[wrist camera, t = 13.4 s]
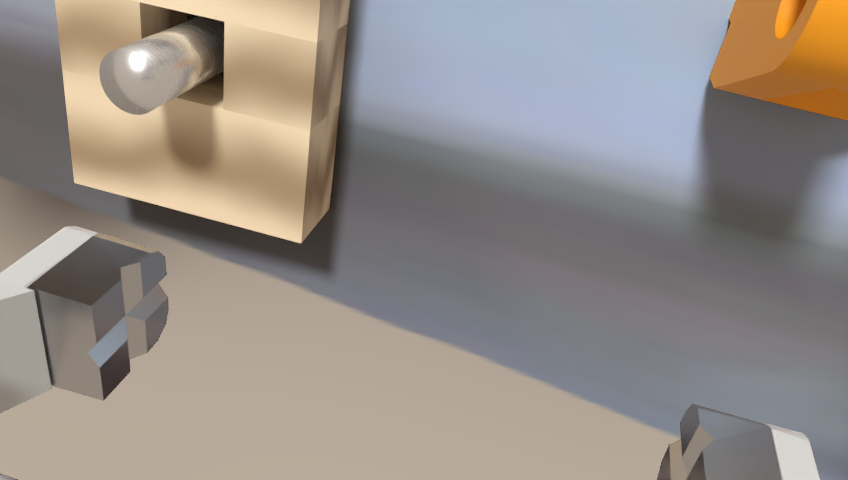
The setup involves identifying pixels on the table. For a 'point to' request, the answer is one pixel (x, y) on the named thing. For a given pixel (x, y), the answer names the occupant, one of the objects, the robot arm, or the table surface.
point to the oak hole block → (215, 111)
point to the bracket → (787, 54)
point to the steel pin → (163, 65)
